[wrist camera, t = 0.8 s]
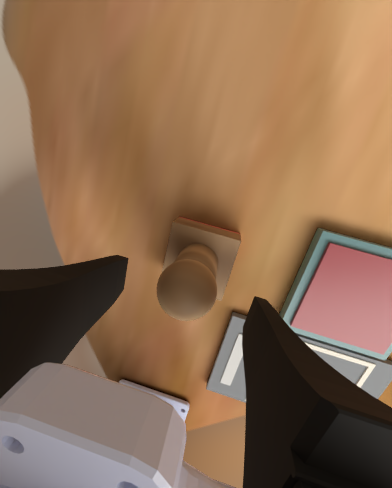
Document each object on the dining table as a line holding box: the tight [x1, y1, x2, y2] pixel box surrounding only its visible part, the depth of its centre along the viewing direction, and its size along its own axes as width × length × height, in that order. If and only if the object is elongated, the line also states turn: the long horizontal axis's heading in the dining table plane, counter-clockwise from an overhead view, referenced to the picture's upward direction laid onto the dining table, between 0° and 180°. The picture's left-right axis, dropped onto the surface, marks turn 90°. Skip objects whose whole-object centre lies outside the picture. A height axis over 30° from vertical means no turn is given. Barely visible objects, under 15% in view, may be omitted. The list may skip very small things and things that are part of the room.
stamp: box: [157, 217, 241, 321], centre depth 14 cm, size 5×5×8 cm
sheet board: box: [206, 312, 392, 402], centre depth 20 cm, size 9×14×1 cm, turn 76°
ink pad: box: [279, 228, 392, 360], centre depth 16 cm, size 8×8×1 cm
